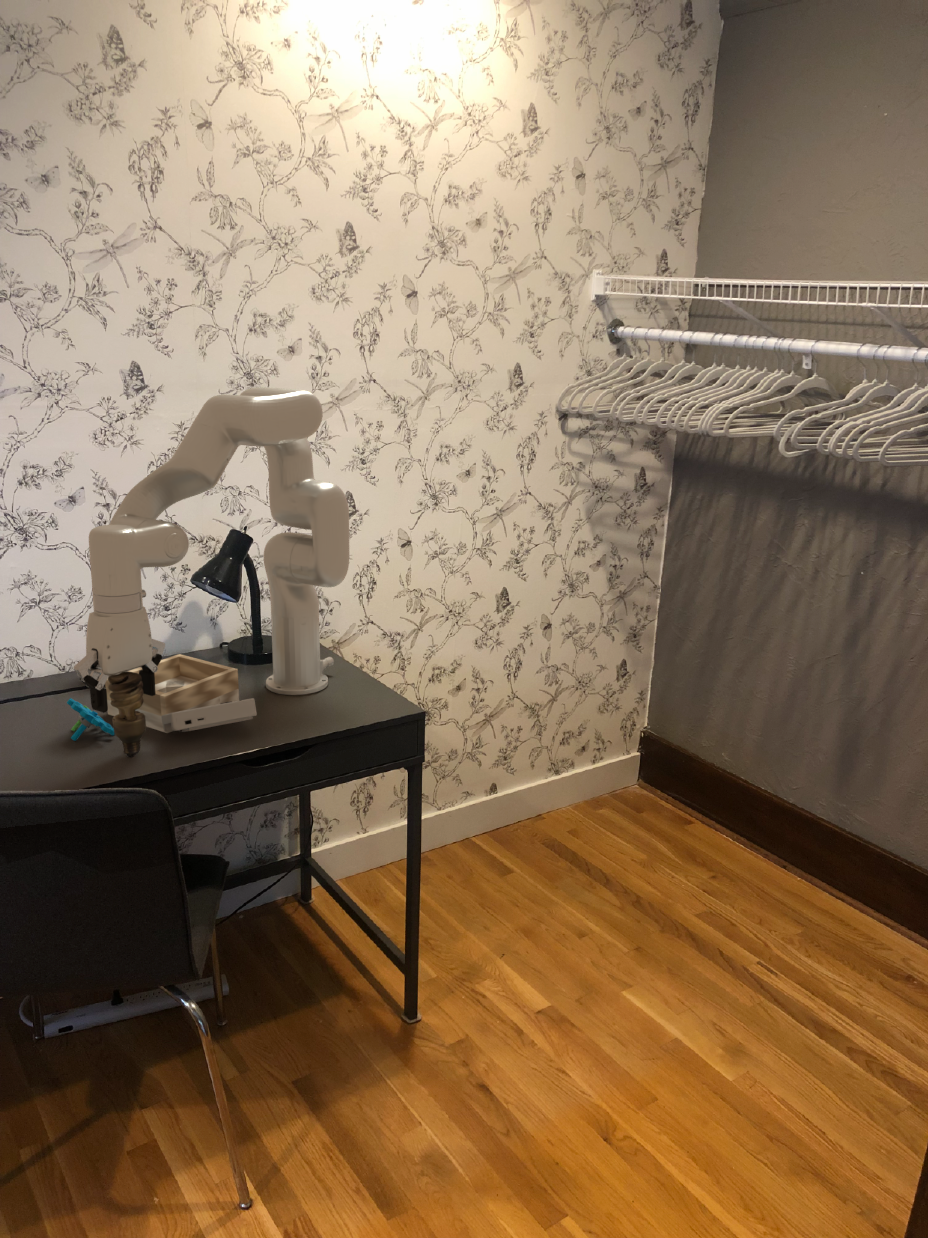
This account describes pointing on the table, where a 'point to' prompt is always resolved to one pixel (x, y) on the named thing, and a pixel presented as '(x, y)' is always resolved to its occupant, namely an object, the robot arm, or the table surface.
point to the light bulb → (128, 710)
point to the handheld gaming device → (209, 716)
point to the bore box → (184, 688)
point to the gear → (87, 720)
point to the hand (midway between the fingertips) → (124, 702)
